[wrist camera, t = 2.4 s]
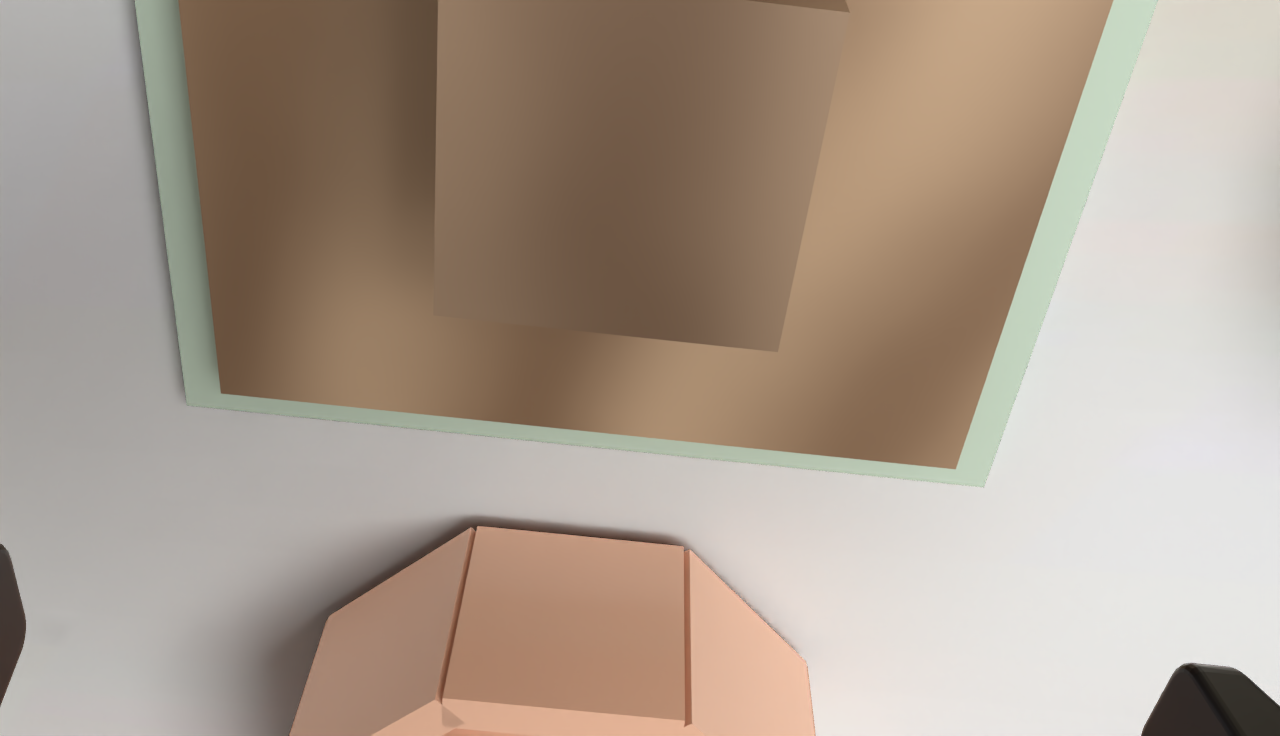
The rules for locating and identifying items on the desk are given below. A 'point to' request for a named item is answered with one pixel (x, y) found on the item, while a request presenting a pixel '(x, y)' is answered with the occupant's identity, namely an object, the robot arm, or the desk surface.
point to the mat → (978, 453)
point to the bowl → (553, 647)
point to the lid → (631, 208)
